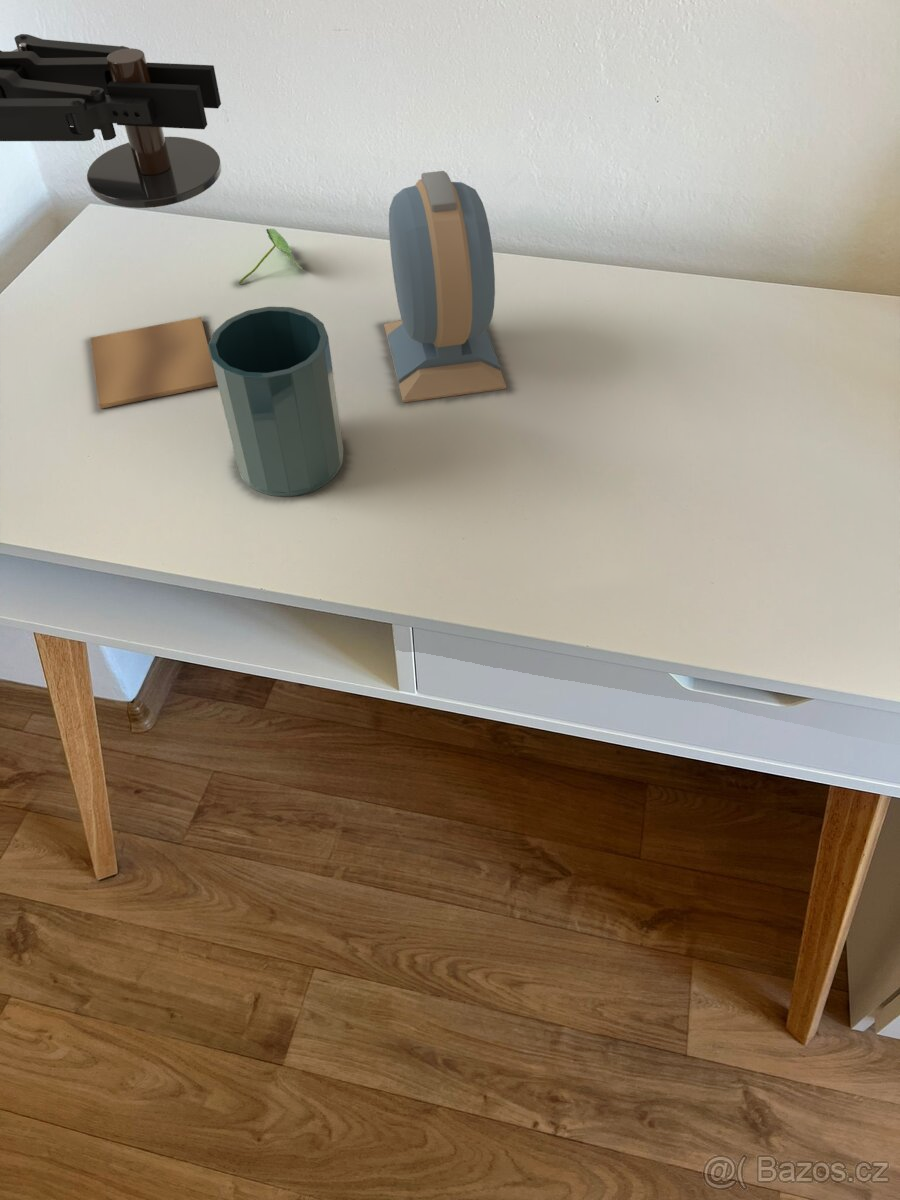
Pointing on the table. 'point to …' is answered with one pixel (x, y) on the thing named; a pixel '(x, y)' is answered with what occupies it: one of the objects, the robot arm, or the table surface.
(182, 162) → the lid
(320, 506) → the table surface
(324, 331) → the jar
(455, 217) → the alarm clock
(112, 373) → the mat
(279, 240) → the seedling
